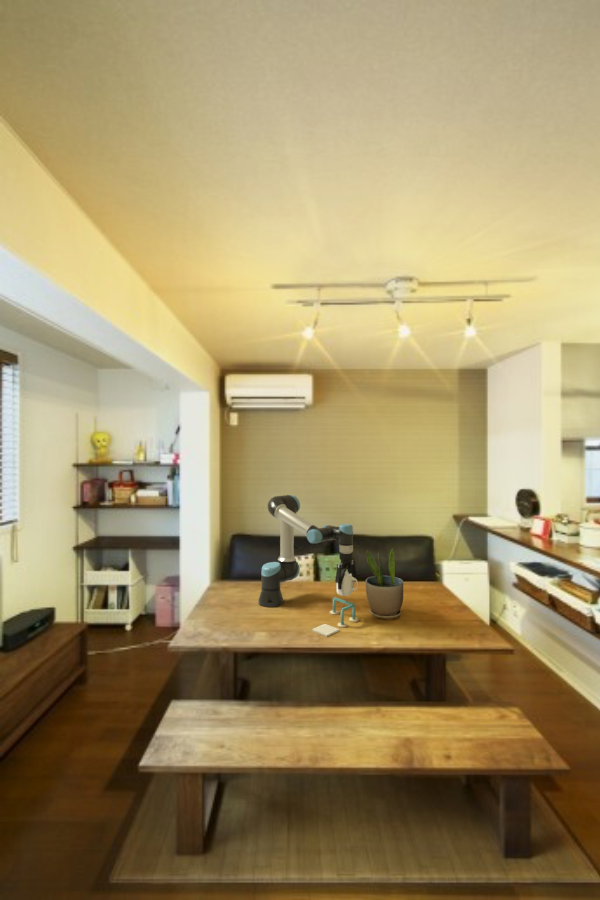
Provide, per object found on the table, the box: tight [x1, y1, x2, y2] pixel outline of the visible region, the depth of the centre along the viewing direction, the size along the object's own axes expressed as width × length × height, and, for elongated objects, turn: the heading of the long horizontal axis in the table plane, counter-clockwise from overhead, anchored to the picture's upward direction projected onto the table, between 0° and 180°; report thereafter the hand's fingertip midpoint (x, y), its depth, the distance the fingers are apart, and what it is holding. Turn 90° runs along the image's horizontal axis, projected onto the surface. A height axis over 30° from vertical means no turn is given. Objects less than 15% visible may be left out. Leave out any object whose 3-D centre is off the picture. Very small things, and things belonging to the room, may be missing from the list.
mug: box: [335, 571, 359, 597], centre depth 227 cm, size 9×12×11 cm
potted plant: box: [365, 548, 404, 620], centre depth 231 cm, size 21×22×40 cm
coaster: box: [311, 623, 340, 638], centre depth 209 cm, size 10×10×1 cm
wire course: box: [329, 596, 359, 629], centre depth 224 cm, size 19×15×9 cm
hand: (346, 592), depth 226 cm, fingers closed on mug, 9 cm apart
